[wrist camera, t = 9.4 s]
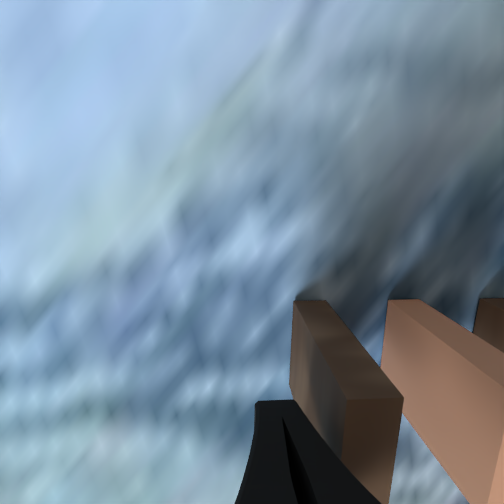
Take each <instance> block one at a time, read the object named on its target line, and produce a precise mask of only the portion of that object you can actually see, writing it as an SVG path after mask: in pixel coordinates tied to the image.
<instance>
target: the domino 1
mask: <svg viewBox="0 0 504 504" xmlns="http://www.w3.org/2000/svg"><path fill="white" fill-rule="evenodd" d="M289 385H290V389H291V392H292V395H293V399H294V400H295V401H296V402H297V403H298V405H299V406H300V408H301V409H302V411H303V412H304V414H305V415H306V416H307V418H308V419H309V421H310V422H311V423H312V425H313V426H314V428H315V429H316V430H317V432H318V433H319V434H320V436H321V437H322V438H323V439H324V441H325V442H326V443H327V444H328V446H329V447H330V448H331V449H332V451H333V452H334V453H335V454H336V455H337V457H338V458H339V459H340V460H341V461H342V463H343V464H344V465H345V466H346V467H347V468H348V469H349V470H350V472H351V473H352V474H353V475H354V476H355V477H356V478H357V479H358V480H359V481H360V482H361V483H362V485H363V486H364V487H365V488H366V489H367V490H368V491H369V492H370V493H371V494H372V495H373V496H374V497H375V498H376V499H377V500H378V501H379V502H380V503H382V504H388V503H389V496H390V490H391V483H392V476H393V470H394V463H395V456H396V449H397V443H398V436H399V429H400V423H401V416H402V409H403V402H404V397H403V395H402V394H401V393H400V392H399V391H398V389H397V388H396V387H395V386H394V384H393V383H392V382H391V381H390V379H389V378H388V377H387V376H386V374H385V373H384V372H383V371H382V369H381V368H380V367H379V366H378V364H377V363H376V362H375V361H374V359H373V358H372V357H371V356H370V355H369V353H368V352H367V351H366V350H365V348H364V347H363V346H362V345H361V343H360V342H359V341H358V340H357V338H356V337H355V336H354V335H353V333H352V332H351V331H350V330H349V328H348V327H347V326H346V325H345V323H344V322H343V321H342V320H341V319H340V317H339V316H338V315H337V314H336V312H335V311H334V310H333V309H332V307H331V306H330V305H329V304H328V302H327V301H326V300H318V301H293V320H292V339H291V358H290V378H289Z"/></svg>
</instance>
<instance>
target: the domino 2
mask: <svg viewBox="0 0 504 504" xmlns="http://www.w3.org/2000/svg"><path fill="white" fill-rule="evenodd" d="M473 334H475V335H476V336H478V337H479V338H481V339H483V340H484V341H486V342H487V343H489V344H490V345H492V346H494V347H495V348H497V349H498V350H500V351H501V352H503V353H504V298H485V299H480V301H479V306H478V311H477V316H476V321H475V326H474V331H473Z"/></svg>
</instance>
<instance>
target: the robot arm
mask: <svg viewBox="0 0 504 504" xmlns="http://www.w3.org/2000/svg"><path fill="white" fill-rule="evenodd" d="M235 504H382V503H380V502H379V501H378V500H377V499H376V498H375V497H374V496H373V495H372V494H371V493H370V492H369V491H368V490H367V489H366V488H365V487H364V486H363V485H362V483H361V482H360V481H359V480H358V479H357V478H356V477H355V476H354V475H353V474H352V473H351V472H350V470H349V469H348V468H347V467H346V466H345V465H344V464H343V463H342V461H341V460H340V459H339V458H338V457H337V455H336V454H335V453H334V452H333V451H332V449H331V448H330V447H329V446H328V444H327V443H326V442H325V441H324V439H323V438H322V437H321V436H320V434H319V433H318V432H317V430H316V429H315V428H314V426H313V425H312V423H311V422H310V421H309V419H308V418H307V416H306V415H305V414H304V412H303V411H302V409H301V408H300V406H299V405H298V403H297V402H296V401H295V400H269V401H258V402H257V403H255V420H254V435H253V440H252V445H251V450H250V455H249V459H248V462H247V466H246V470H245V473H244V477H243V480H242V484H241V487H240V490H239V493H238V496H237V499H236V501H235Z"/></svg>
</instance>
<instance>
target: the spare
mask: <svg viewBox="0 0 504 504" xmlns="http://www.w3.org/2000/svg"><path fill="white" fill-rule="evenodd" d="M380 368H381V369H382V371H383V372H384V373H385V374H386V376H387V377H388V378H389V379H390V381H391V382H392V383H393V384H394V386H395V387H396V388H397V389H398V391H399V392H400V393H401V394H402V395H403V397H404V402H403V409H402V413H403V415H404V416H405V417H406V419H407V420H408V421H409V423H410V424H411V425H412V427H413V428H414V429H415V431H416V432H417V433H418V435H419V436H420V437H421V439H422V440H423V441H424V443H425V444H426V445H427V447H428V448H429V449H430V451H431V452H432V453H433V455H434V456H435V457H436V459H437V460H438V461H439V463H440V464H441V466H442V467H443V468H444V470H445V471H446V472H447V474H448V475H449V476H450V478H451V479H452V480H453V482H454V483H455V484H456V486H457V487H458V488H459V490H460V491H461V492H462V494H463V495H464V496H465V498H466V499H467V500H468V502H469V503H470V504H504V353H503V352H501V351H500V350H498V349H497V348H495V347H494V346H492V345H490V344H489V343H487V342H486V341H484V340H483V339H481V338H479V337H478V336H476V335H475V334H473V333H472V332H470V331H468V330H467V329H465V328H464V327H462V326H460V325H459V324H457V323H456V322H454V321H453V320H451V319H449V318H448V317H446V316H445V315H443V314H442V313H440V312H438V311H437V310H435V309H434V308H432V307H431V306H429V305H427V304H426V303H424V302H423V301H421V300H420V299H407V300H388V307H387V315H386V324H385V333H384V341H383V350H382V358H381V367H380Z"/></svg>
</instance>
